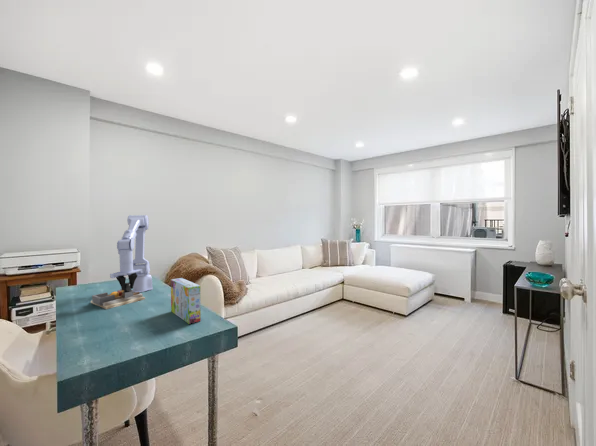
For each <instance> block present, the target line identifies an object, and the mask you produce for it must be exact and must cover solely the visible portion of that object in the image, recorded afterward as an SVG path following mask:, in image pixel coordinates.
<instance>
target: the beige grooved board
mask: <svg viewBox="0 0 596 446" xmlns="http://www.w3.org/2000/svg"><path fill="white" fill-rule="evenodd" d="M110 294H111V293H110ZM110 294H108V296H110ZM143 300H144V301H145V300H146V297H145V296H143V293H141V292H133V296H131V297H127V298H124V297H122V296H118V297H115V300H112V301H108V302H104V303H103V305H98V304H95V303H93V302H92V300H90V304H92V305H95V306H97V307H99V308H102V309H105V310H109V309H113V308H115V307H116V308H117V307H121V306H125V305H129V304H133V303H136V302H140V301H143Z"/></svg>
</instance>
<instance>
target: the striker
mask: <svg viewBox="0 0 596 446" xmlns="http://www.w3.org/2000/svg"><path fill="white" fill-rule="evenodd" d="M132 290H133V289H131V283H129V282H125V291H123V290H122V288H120V289H119V290H117V291H116V292H118V293H119V296H122V297H124V298H127V297H131V296H133V293H134V292H133V291H132Z"/></svg>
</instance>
